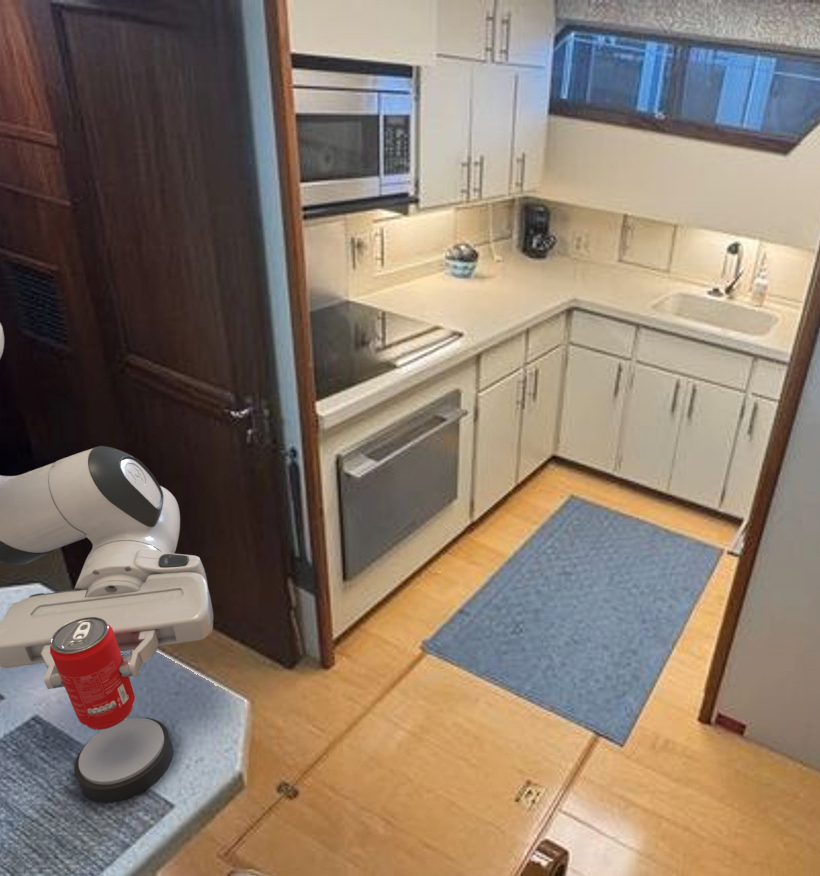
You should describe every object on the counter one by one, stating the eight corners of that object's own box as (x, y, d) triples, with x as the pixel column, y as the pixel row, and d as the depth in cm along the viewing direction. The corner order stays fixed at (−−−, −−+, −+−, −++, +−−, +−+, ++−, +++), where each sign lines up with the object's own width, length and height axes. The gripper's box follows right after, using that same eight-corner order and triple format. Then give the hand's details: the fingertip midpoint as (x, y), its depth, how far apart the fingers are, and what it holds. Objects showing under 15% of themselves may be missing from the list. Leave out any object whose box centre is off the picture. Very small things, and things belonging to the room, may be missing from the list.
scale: (71, 757, 79) (64, 741, 77) (160, 717, 85) (155, 701, 83) (89, 818, 74) (82, 802, 72) (183, 771, 79) (178, 755, 78)
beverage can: (72, 736, 72) (38, 657, 66) (89, 695, 76) (59, 617, 70) (129, 729, 73) (101, 651, 67) (143, 689, 78) (118, 612, 71)
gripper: (6, 577, 77) (-46, 676, 66) (214, 554, 83) (198, 640, 73) (23, 618, 80) (-24, 718, 69) (222, 592, 87) (208, 680, 76)
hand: (92, 678), depth 71 cm, fingers closed on beverage can, 5 cm apart
